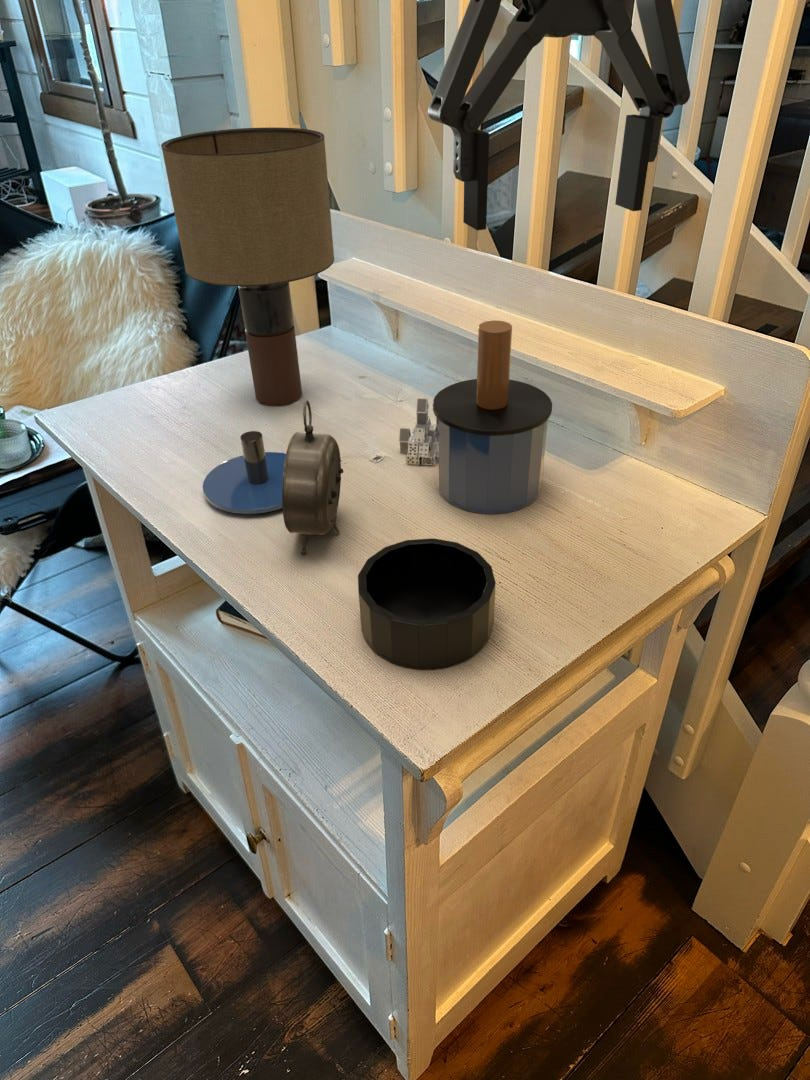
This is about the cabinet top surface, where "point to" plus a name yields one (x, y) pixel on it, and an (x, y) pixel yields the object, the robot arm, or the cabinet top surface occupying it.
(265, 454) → the pot lid
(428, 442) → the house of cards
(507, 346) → the lid
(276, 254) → the lamp
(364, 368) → the cabinet top surface
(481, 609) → the pan
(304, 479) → the alarm clock
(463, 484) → the pot
